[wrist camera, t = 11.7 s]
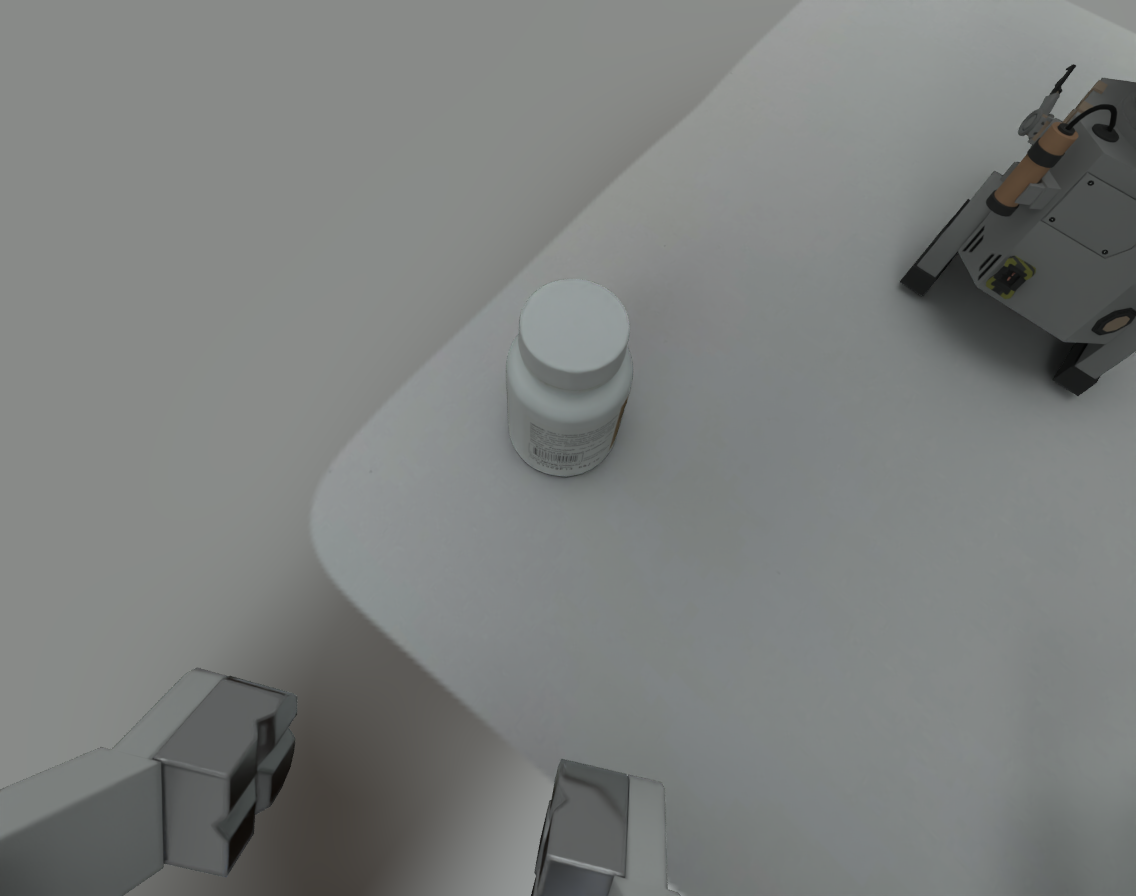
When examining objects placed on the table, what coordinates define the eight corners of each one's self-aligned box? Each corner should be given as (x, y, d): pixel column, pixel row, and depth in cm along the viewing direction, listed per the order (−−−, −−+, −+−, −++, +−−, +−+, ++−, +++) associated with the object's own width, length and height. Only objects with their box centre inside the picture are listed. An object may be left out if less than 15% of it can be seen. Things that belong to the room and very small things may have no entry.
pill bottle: (636, 446, 28) (674, 344, 21) (544, 498, 27) (551, 409, 20) (579, 365, 29) (596, 244, 22) (489, 411, 28) (477, 299, 21)
